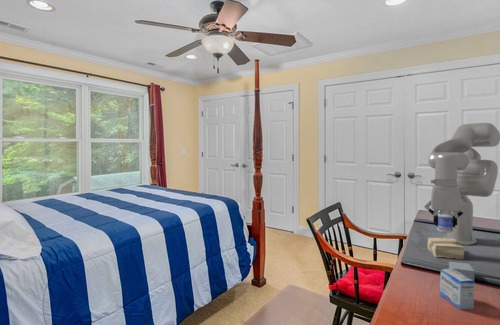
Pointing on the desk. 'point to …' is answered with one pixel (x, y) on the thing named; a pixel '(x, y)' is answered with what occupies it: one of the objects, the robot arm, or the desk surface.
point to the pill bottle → (445, 222)
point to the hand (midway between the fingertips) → (445, 225)
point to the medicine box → (457, 289)
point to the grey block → (462, 269)
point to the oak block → (445, 248)
